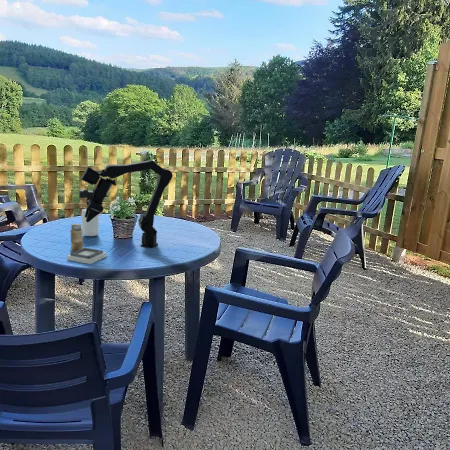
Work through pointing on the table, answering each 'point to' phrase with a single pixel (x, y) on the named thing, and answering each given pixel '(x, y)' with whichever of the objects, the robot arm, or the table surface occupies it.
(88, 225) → the cup
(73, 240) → the pepper mill
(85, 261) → the stand
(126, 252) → the table surface
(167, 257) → the table surface
